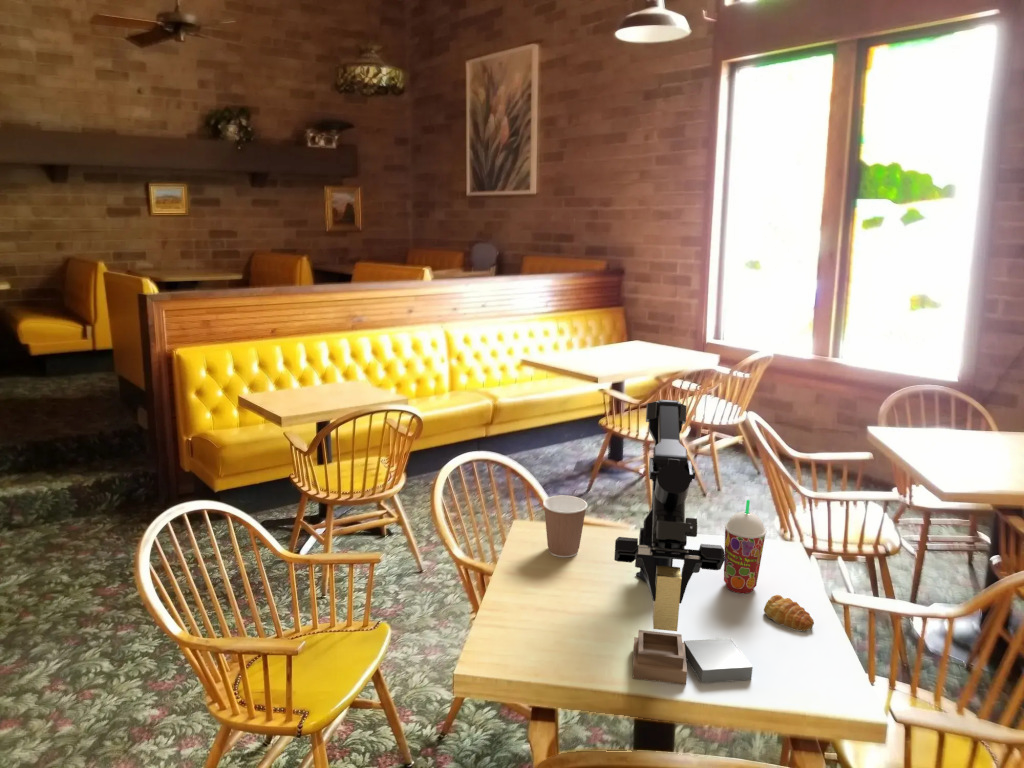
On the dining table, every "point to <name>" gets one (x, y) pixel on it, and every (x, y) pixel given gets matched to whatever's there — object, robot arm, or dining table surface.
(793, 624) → the pastry
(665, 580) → the brass bar
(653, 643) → the walnut holder
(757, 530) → the smoothie
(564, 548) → the coffee cup
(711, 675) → the slate plinth
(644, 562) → the robot arm
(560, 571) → the dining table surface
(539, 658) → the dining table surface
